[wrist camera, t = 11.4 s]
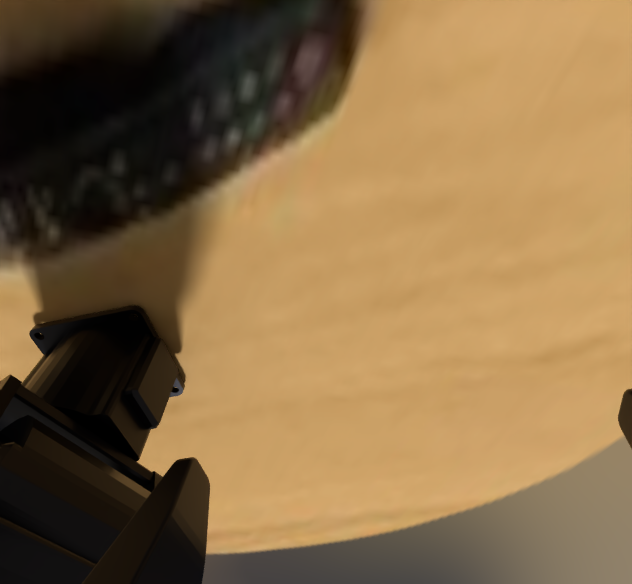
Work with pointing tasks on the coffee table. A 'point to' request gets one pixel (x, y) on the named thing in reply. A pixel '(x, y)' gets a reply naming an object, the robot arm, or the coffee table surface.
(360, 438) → the coffee table surface
